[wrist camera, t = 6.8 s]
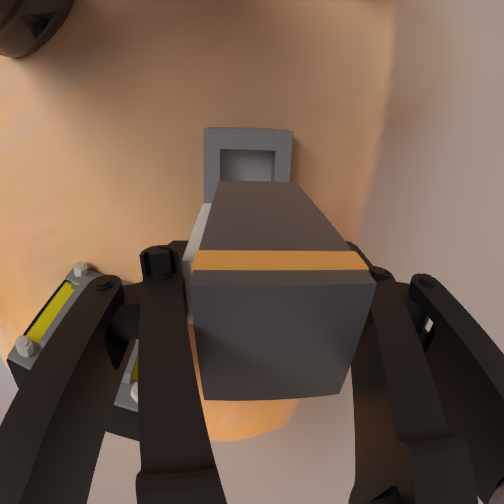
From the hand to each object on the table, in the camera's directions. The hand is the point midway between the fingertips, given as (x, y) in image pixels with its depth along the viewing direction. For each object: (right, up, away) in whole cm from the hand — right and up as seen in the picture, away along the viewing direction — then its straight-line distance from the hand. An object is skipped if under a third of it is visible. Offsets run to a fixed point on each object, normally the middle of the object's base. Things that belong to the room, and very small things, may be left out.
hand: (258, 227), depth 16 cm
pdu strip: (-1, +4, +19) cm, 20 cm away
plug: (0, +1, +2) cm, 2 cm away
